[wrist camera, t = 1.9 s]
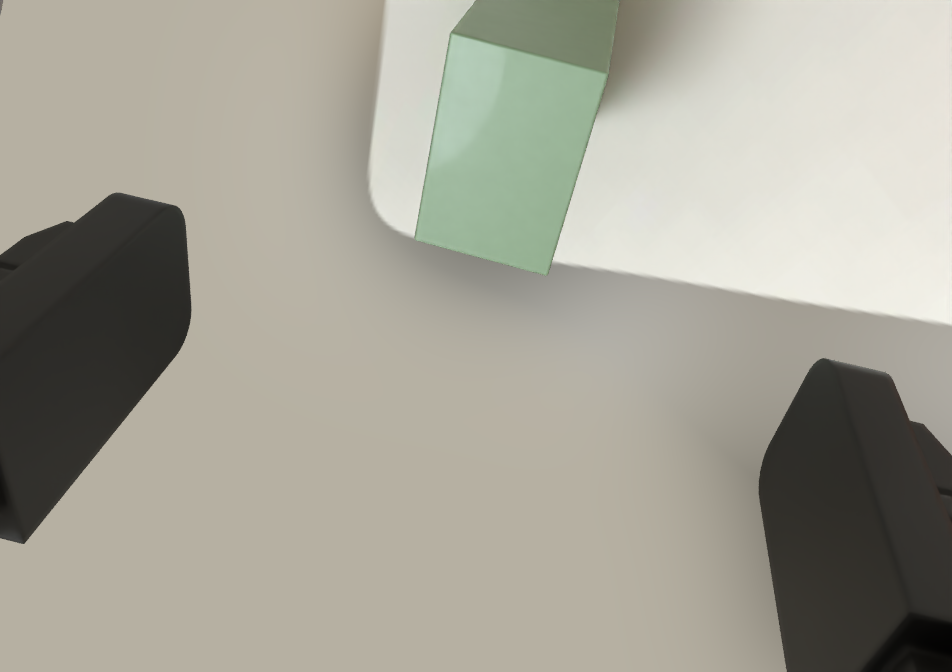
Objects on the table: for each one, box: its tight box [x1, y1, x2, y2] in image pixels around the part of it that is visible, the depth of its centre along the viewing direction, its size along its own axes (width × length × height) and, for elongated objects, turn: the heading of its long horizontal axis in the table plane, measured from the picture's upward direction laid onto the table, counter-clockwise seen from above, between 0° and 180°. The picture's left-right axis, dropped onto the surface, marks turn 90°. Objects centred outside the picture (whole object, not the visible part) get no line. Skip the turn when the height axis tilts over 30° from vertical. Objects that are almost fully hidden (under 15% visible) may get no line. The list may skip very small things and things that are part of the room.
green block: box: [415, 0, 620, 275], centre depth 26 cm, size 4×6×12 cm, turn 168°
